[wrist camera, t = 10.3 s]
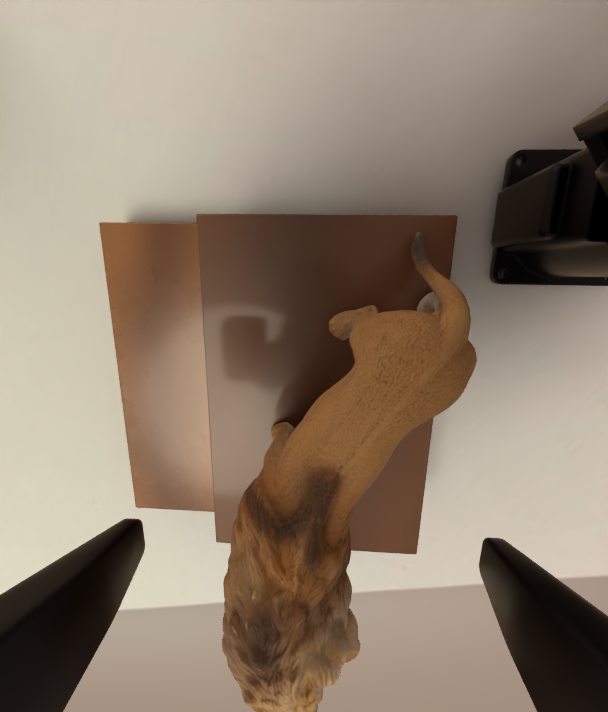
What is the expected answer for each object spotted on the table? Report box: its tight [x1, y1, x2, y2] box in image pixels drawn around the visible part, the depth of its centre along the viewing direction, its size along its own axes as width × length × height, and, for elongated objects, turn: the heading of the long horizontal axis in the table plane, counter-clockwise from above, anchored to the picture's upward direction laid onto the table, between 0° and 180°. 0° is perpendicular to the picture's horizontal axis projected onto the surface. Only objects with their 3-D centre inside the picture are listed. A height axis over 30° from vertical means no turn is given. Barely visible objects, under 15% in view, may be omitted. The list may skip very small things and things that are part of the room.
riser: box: [99, 214, 457, 554], centre depth 18 cm, size 17×17×4 cm
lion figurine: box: [222, 232, 477, 712], centre depth 11 cm, size 15×5×9 cm, turn 159°
